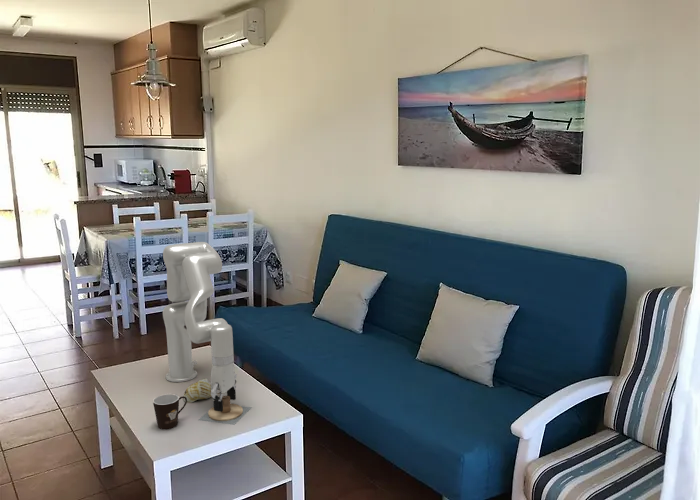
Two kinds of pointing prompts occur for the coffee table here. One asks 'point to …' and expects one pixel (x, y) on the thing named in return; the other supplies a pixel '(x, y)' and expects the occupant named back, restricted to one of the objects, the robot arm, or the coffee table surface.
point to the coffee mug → (167, 410)
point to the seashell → (198, 391)
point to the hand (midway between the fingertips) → (225, 405)
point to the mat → (234, 421)
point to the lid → (226, 411)
